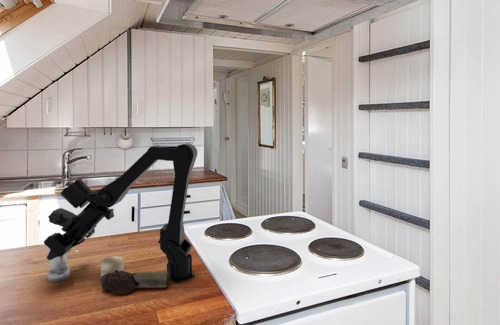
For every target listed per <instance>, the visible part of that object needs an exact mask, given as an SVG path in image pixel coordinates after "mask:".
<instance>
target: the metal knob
mask: <svg viewBox="0 0 500 325" xmlns="http://www.w3.org/2000/svg"><path fill="white" fill-rule="evenodd" d="M47 248H48V247H47ZM50 250H51V249H50V248H48V253H49V252H50ZM48 264H49V270H48V271H47V280H48V281H49V282H60V281H64V280H66V279H68V278H70V277H71V268H70V267H69V266H68V265H67V264H68V260H67V253H66V254H65V255H63V256H62V257H59V256H58V257H56V258H54V259H51V260H48Z"/></svg>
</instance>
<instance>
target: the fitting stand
mask: <svg viewBox="0 0 500 325" xmlns="http://www.w3.org/2000/svg"><path fill="white" fill-rule="evenodd" d="M124 259H125V258H123V256H122V257H121V256H109V257H106V258H104V259H101V260H100V265H99V267H100V268H99V269H100V276H99V277H100V278H99V279H100V282H101V281H102V276H103V275H104V274H108V273H113V272H115V270H118V271H124V272H125V264H124V263H125V262H124V261H125V260H124Z"/></svg>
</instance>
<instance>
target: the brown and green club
mask: <svg viewBox="0 0 500 325" xmlns="http://www.w3.org/2000/svg"><path fill="white" fill-rule="evenodd" d="M168 274H169V273H168V272H167V271H153V272H151V271H145V272H133V273H131V272H128V271H125V270H124V271H118V270H115V272H113V273H108V274H104V275H103V276H102V281H101V280H100V284H101V288H102V289H105V290H109V291H111V292H113V293H114V294H115V295H118V296H119V295H127V294H129V293H130V294H131V292H132V291H134V290H135V289H136V288H137V289H138V288H141V289H142V288H147V289H149V288H153V289H154V288H161V289H163V288H164V289H165V288H168V286H169V280H170V279H169V276H168Z"/></svg>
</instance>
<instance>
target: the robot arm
mask: <svg viewBox="0 0 500 325" xmlns="http://www.w3.org/2000/svg"><path fill="white" fill-rule="evenodd" d="M197 157H198V150H197V148H196V146H195V145H193V144H191V143H188V142H187V143H182V144H178V145H176V146H174V145H173V146H172V145H171V146H170V145H169V146H168V145H160V144H156V145H152V146H150V147H148V149H147V150H146V152H144V153H143V155H141V156H140V157H139V158H138V159H137V160H136V161H135V162H134V163H133V164H132V165H131V166H129V168H127V170H126V171H124V173H123V174H121V175H120V176H119V177H118V178H116V179H115V180H113V181H112V182H110V183H108V184H107V185H104V186H103V187H101V188H99V189H96V190H92V189H91V188H90V187H89V186H87V184H86V183H85V182H84V181H83V180H82V179H81V178H77V179H76V180H74V181H73V182H72V183H71V184H69V185H68V186H67V187H65V188H63V190H62V191H61V192H60V196H61V197H62V198H63V199H64V200H66V201H67V203H69V204H70V205H71V206H72V207H73V208H74V209H78V208H80V209H82V211H80V212H79V213H78V214H75V213H74V212H71V211H70V210H67V209H65V208H62V207H59V208H56V209H54V210H52V212H51V213H50V214H49V215H48V222H49V223H50V224H54V225H56V226H59V227H61V229H60V230H61V231H63V233H61V232H54V233H52V234H50V235H49V236H47V238H46V239H44V241H43V244H44V245H45V246H46V247H47V248H50V249H51V250H50V252H49V251H48V254H47V256H46V259H47V260H48V261H49V260H51V259H54V258H56V257H58V256H59V257H62V256H63V255H65V254H66V255H67V254H68V253H69V252H70V251H72V249H73V248H75V247H76V246H78V245H80V244H82V243H83V242H85V241H86V239H89V238H91V237H92V236H93V235H94V234H95V233H96V231H95V230H96V227H97V226H98V224H99V223H100V222H101V221H102V220H103V219H104V218H105V220H108V221H110V220H111V219H112V218H114V217H115V214H114V213H115V212H114V208H112V207H113V206H115V205H116V204H119V203H120V202H122V201H123V199H124V198H125V197H126V196H127V194H128V192H129V190H130V189H131V187H133V186H132V185H134V184H135V183H136V182H137V181H138V180H139V179H140V178H141V177H142V176H143V175H145V173H146V172H147V171H148V170H149V169H150V168H151V167H153V166H154V165H155V164H156V163H157V161H166V162H172V164H173V171H174V180H173V188H172V193H171V194H172V195H171V201H170V208H169V215H168V222H167V223H165V224H164V225H163V226H162V227H161V228H160V229H159V240H158V241H157V243H158V244H159V248H160V251H162V253H163V254H164V255H165V256H166V258H167V263H166V272H168V273H169V274H168V276H169V279H168V280H171V281H172V282H174V283H175V284H178V283H181V282H184V281H187V280H190V279H192V278H195V277H196V274H195V273H193V259H192V258H193V255H192V254H190V252H191V250H192V247H193V244H192V243H191V242H189V241H188V239H186V237H185V225H184V216H185V215H184V214H185V209H186V202H187V196H188V188H189V181H190V176H191V173H192V171H193V168H194V166H195V163H196V160H197Z"/></svg>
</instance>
